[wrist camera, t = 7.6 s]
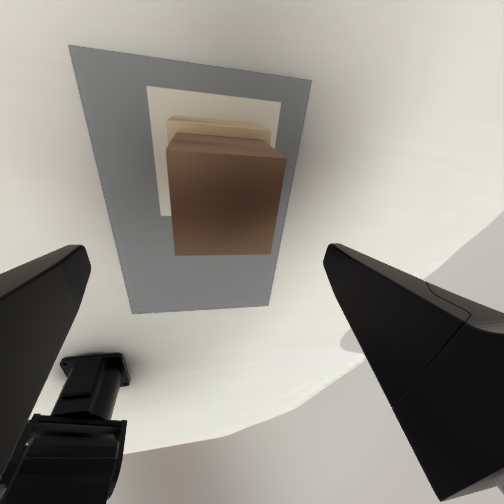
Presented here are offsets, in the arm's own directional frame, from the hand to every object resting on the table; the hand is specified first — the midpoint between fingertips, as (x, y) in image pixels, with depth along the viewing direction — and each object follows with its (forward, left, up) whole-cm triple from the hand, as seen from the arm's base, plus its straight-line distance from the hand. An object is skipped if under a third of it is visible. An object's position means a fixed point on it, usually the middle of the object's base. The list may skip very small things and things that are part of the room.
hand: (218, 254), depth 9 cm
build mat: (-4, 0, -12) cm, 13 cm away
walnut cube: (+1, -1, -8) cm, 8 cm away
